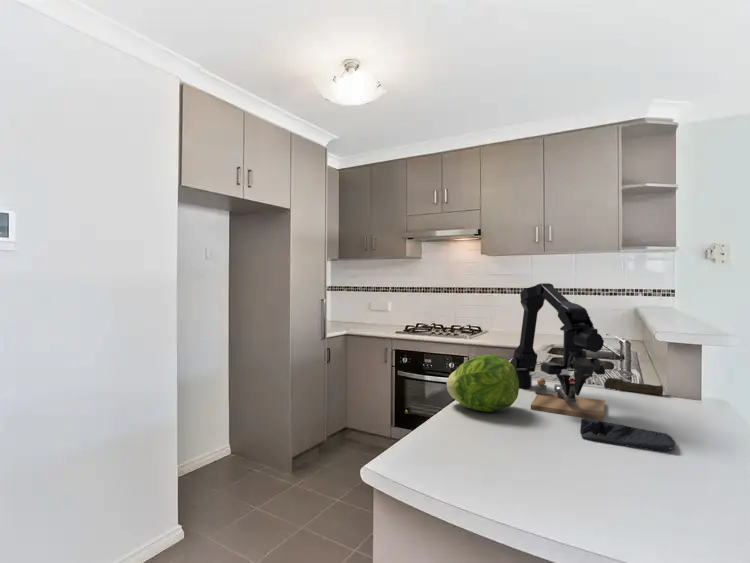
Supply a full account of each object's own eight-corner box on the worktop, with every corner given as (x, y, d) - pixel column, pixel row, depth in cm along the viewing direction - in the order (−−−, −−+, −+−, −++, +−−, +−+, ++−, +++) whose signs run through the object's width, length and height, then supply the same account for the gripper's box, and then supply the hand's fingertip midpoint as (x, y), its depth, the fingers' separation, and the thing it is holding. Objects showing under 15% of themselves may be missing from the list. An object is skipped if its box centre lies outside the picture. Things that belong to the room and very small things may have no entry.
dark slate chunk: (676, 460, 101) (676, 440, 101) (576, 439, 113) (576, 422, 113) (674, 439, 114) (674, 422, 114) (584, 423, 126) (584, 407, 126)
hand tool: (663, 395, 155) (663, 382, 155) (662, 397, 152) (663, 385, 152) (605, 387, 166) (605, 375, 166) (603, 389, 163) (604, 377, 163)
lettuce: (463, 397, 152) (452, 349, 151) (529, 396, 140) (518, 344, 138) (444, 422, 136) (431, 369, 135) (517, 424, 124) (504, 365, 122)
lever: (552, 390, 150) (552, 366, 150) (565, 391, 149) (565, 367, 149) (564, 405, 133) (564, 378, 133) (579, 406, 132) (579, 379, 132)
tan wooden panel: (529, 409, 138) (529, 386, 137) (537, 395, 153) (537, 375, 153) (603, 420, 127) (603, 396, 127) (604, 404, 143) (604, 383, 143)
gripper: (559, 351, 124) (557, 403, 125) (617, 350, 126) (616, 402, 127) (540, 344, 136) (539, 392, 136) (594, 344, 137) (593, 392, 138)
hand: (571, 395), depth 134 cm, fingers open, 3 cm apart
